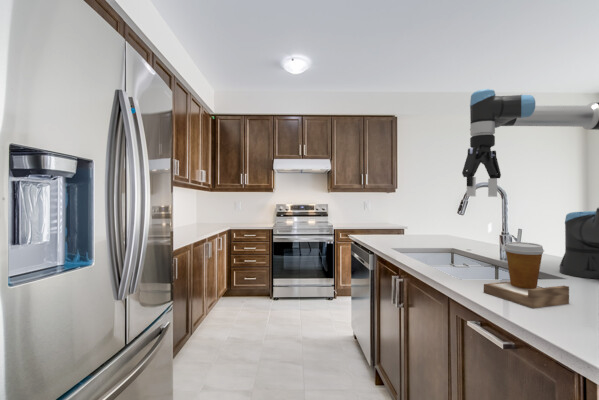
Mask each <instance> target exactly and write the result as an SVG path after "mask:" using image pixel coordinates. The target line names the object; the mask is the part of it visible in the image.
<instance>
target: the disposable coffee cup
mask: <svg viewBox="0 0 599 400" xmlns="http://www.w3.org/2000/svg"><path fill="white" fill-rule="evenodd" d="M503 249H505V252H506V253H505V254H506V261H507V267H508V275H509V282H510V284H511V285H512V286H515V287H519V288H525V289H534V288H537V286H538V281H539V276H540V275H539V274H540V269H541V263H542V256H543V254H544V252H545V249H544V248H543V245H542V244H539V243H534V242H523V241H512V242H511V241H509V242H506V243H505V246H504V248H503Z"/></svg>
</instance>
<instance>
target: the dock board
mask: <svg viewBox="0 0 599 400" xmlns="http://www.w3.org/2000/svg"><path fill="white" fill-rule="evenodd" d="M483 293H485V294H488V295H491V296H494V297H497V298H500V299H503V300H506V301H508V302H512V303H515V304H518V305H520V306H525V307H527V308H531V309H538V308H544V307H545V308H546V307H553V306H561V305H569V304H570V286H568V285H558V286H548V287H547V286H545V287H541V286H538V285H537V288H534V289H525V288H519V287H515V286H512V285H511V284H510V281H502V282H501V281H500V282H490V283H489V282H488V283H484V284H483Z"/></svg>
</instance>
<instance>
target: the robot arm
mask: <svg viewBox="0 0 599 400" xmlns="http://www.w3.org/2000/svg"><path fill="white" fill-rule="evenodd" d="M469 100H470V101H469V102H470V103H469V110H470V111H469V112H470V113H469V114H470V117H469V119H470V129H469V131H470V137H469V138H470V139H469V143H470V145H469V146H470V147H468V148H467V156H466V159H465V162H464V165H463V169H462V172H461V173H462V176H463V178H466V197H477V195H476V193H477V192H476V190H477V188H476V187H477V185H476V183H477V182H476V181H477V177H476V176H475V174H476V173H477V172H478V168H479V166H480V165H481V164H482V165H483V166H484V168H485V171H486V173H487V175H488V177H489V178H488V179H487V186H488V187H487V189H488V190H487V193H488V195H487V197H490V198H492V197H493V198H495V197H496V198H498V179H501V177H502V174H501V169H500V166H499V162H498V158H497V151H496V150H492V149H491V148H492V147H493V148H494V146H496V141H495V139H496V136H495V133H496V129H498V128H499V127H569V128H570V127H571V128H572V127H573V128H574V127H582V128H583V129H585V130H595V131H597V130H598V131H599V102H590V103H588V104H587V105H586V104H585V105H536V99H535V97H534V96H533V95H531V94H517V95H516V94H515V95H513V94H512V95H496V92H495V90H494V89H491V88H485V89H478V90H476V91H474V92H473V93H472V94H471V95H470V99H469ZM564 220H565V221H564V224H565V225H564V227H565V228H564V229H565V230H564V232H565V234H564V236H565V237H564V238H565V239H564V240H565V242H564V244H565V249H564V250H565V252H564V254H563V256H562V259H561V261H560V264H559V269H558V270H559V273H561V274H564V275H567V276H573V277H576V278H577V277H578V278H585V279H598V280H599V206H597V207H596V210H595V211H594V210H593V211H592V210H591V211H574V212H569V213H567V214H566V215H565V218H564Z"/></svg>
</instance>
